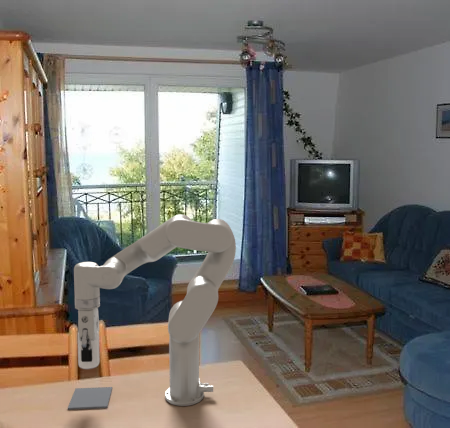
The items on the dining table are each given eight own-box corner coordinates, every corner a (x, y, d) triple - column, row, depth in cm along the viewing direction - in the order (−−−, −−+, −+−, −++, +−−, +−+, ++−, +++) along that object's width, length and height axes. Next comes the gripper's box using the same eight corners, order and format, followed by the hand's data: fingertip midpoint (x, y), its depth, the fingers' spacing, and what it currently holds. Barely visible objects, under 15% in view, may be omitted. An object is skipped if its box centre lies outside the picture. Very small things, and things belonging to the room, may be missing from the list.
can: (93, 370, 151) (92, 333, 149) (74, 368, 152) (73, 332, 150) (103, 361, 157) (102, 326, 155) (84, 359, 158) (83, 324, 157)
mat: (112, 388, 163) (112, 386, 163) (107, 407, 151) (107, 406, 151) (75, 390, 162) (75, 388, 162) (67, 409, 150) (67, 407, 150)
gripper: (95, 311, 143) (96, 368, 146) (103, 293, 161) (104, 344, 163) (69, 311, 143) (70, 369, 145) (80, 293, 160) (82, 345, 162)
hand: (88, 355), depth 154 cm, fingers closed on can, 6 cm apart
